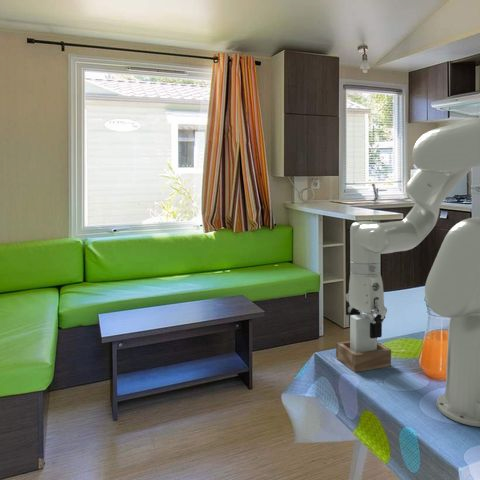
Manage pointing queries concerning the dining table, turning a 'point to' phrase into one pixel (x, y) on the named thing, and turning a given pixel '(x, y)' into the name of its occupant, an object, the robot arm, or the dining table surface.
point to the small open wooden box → (363, 357)
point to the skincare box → (361, 334)
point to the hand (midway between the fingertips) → (364, 331)
